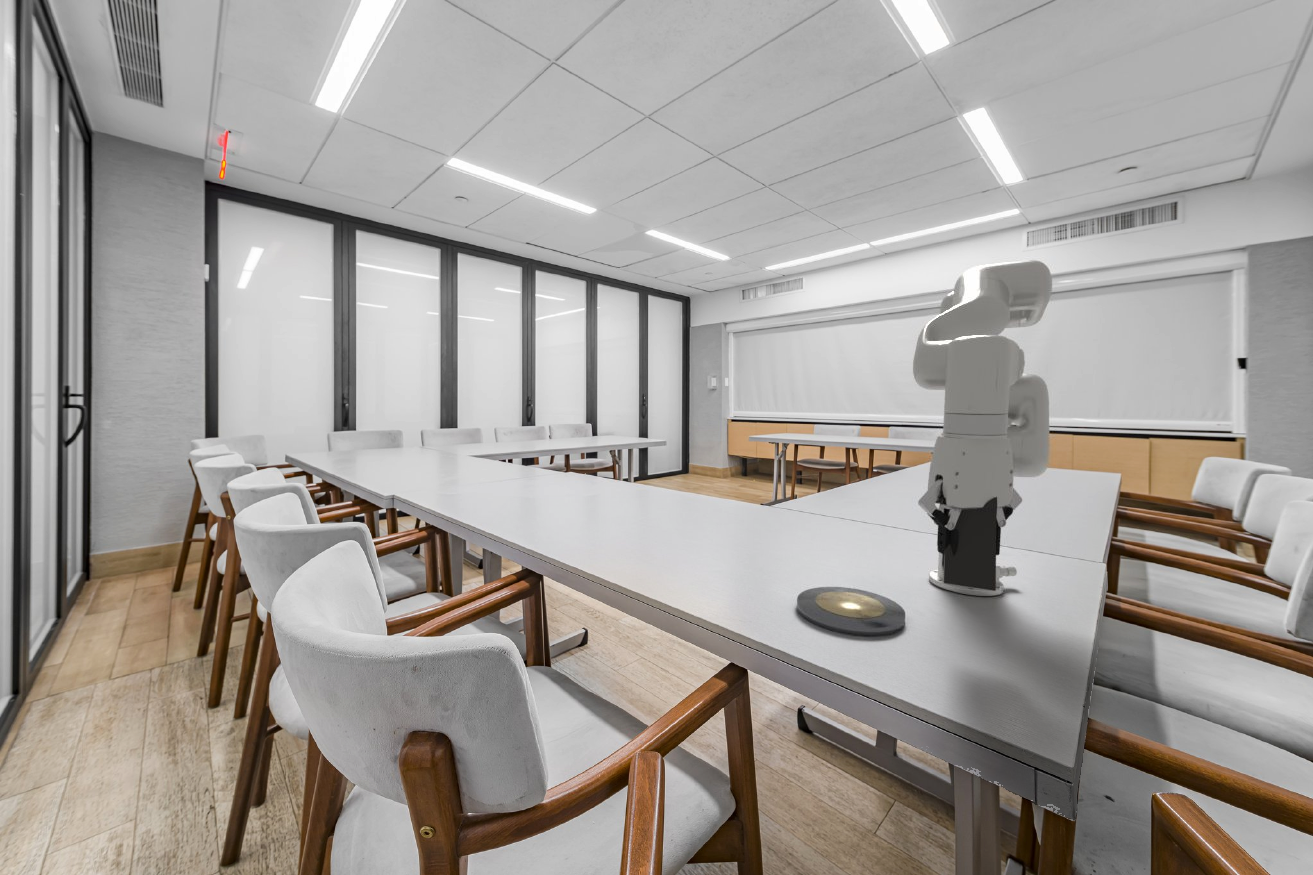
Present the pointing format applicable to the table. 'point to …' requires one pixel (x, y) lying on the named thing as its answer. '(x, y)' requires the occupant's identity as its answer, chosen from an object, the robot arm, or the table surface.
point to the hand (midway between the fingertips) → (967, 552)
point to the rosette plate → (851, 611)
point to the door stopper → (973, 549)
